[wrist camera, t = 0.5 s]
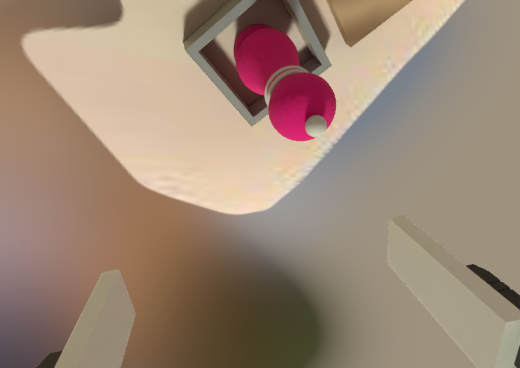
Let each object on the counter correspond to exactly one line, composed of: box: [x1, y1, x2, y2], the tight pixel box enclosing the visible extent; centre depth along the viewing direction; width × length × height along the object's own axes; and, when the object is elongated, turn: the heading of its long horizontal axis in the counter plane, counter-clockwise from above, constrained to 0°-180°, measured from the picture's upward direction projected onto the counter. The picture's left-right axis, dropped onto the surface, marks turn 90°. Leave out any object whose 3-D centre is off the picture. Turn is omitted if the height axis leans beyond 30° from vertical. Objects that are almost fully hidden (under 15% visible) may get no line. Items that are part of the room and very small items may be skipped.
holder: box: [183, 0, 332, 126], centre depth 38 cm, size 13×13×3 cm
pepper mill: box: [234, 24, 336, 141], centre depth 32 cm, size 7×7×20 cm
